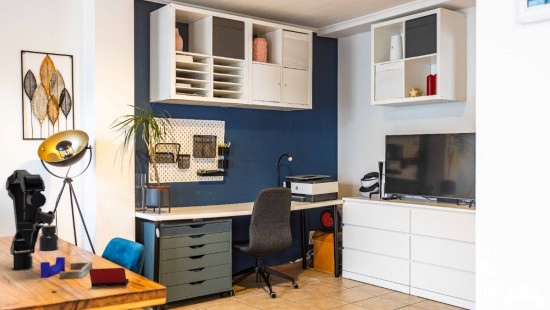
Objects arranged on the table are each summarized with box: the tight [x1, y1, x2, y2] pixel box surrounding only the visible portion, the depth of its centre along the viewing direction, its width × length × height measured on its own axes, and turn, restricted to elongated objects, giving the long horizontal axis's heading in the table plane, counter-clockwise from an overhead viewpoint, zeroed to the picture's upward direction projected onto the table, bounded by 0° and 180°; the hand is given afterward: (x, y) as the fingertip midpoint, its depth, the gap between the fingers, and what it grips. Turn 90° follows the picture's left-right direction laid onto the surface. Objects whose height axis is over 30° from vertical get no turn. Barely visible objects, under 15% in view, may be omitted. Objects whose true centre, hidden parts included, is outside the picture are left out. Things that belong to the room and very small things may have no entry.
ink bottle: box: [38, 224, 59, 252], centre depth 281 cm, size 10×9×12 cm
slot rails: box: [58, 262, 93, 280], centre depth 224 cm, size 8×19×2 cm, turn 7°
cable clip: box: [40, 256, 66, 279], centre depth 223 cm, size 12×4×6 cm, turn 169°
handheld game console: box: [88, 267, 130, 288], centre depth 204 cm, size 12×11×7 cm
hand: (32, 244), depth 222 cm, fingers open, 7 cm apart
